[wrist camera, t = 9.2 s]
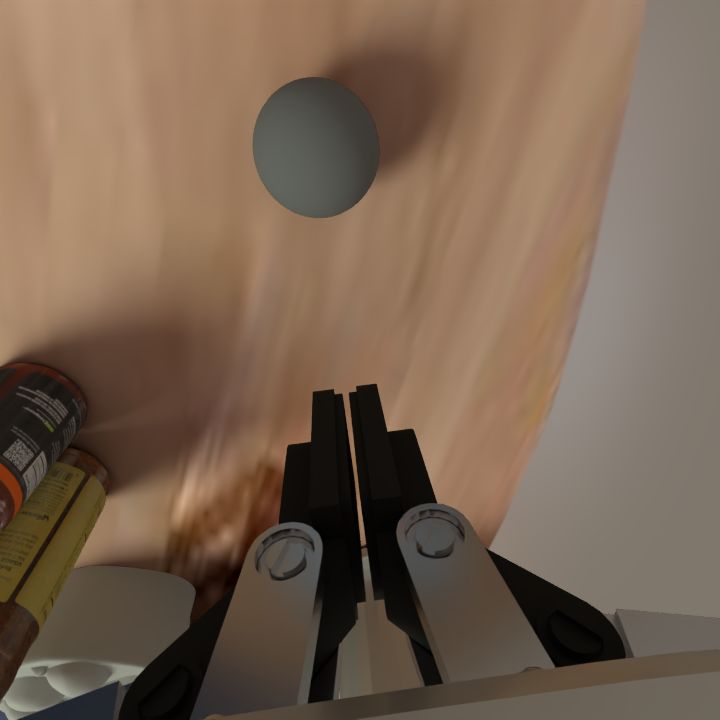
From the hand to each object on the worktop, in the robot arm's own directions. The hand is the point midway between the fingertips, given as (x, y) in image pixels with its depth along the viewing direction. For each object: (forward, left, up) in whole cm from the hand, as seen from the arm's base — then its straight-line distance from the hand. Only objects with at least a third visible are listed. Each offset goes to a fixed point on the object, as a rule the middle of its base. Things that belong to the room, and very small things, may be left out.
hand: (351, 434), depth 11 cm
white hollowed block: (-28, +23, -16) cm, 39 cm away
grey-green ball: (+6, 0, -12) cm, 14 cm away
